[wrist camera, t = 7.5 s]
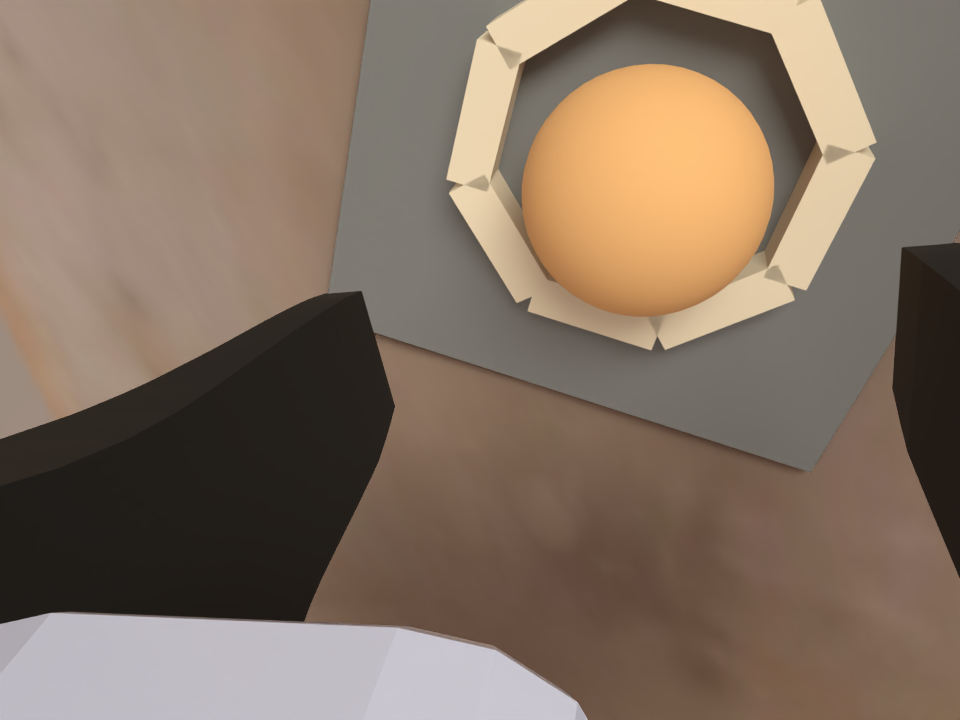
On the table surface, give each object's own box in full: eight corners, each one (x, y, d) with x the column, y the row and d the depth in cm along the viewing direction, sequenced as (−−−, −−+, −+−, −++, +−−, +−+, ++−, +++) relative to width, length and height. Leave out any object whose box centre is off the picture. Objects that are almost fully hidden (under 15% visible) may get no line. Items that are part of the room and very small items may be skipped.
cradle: (1153, -102, 15) (1192, -98, 14) (808, 463, 23) (815, 496, 22) (421, -304, 16) (399, -315, 15) (330, 310, 24) (311, 334, 22)
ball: (760, 20, 17) (783, 79, 13) (767, 244, 19) (789, 353, 15) (523, 61, 18) (475, 125, 14) (558, 264, 21) (526, 370, 17)
